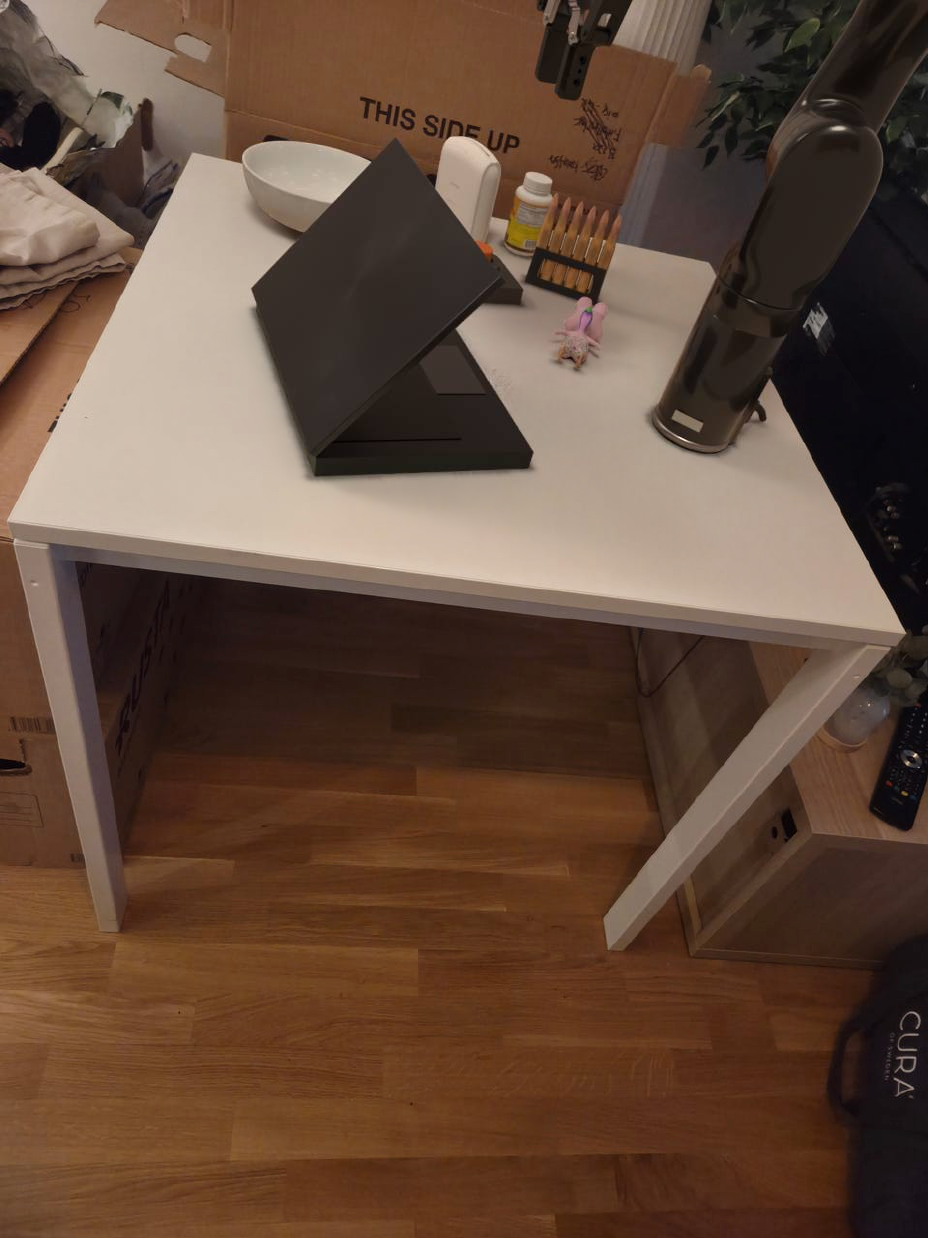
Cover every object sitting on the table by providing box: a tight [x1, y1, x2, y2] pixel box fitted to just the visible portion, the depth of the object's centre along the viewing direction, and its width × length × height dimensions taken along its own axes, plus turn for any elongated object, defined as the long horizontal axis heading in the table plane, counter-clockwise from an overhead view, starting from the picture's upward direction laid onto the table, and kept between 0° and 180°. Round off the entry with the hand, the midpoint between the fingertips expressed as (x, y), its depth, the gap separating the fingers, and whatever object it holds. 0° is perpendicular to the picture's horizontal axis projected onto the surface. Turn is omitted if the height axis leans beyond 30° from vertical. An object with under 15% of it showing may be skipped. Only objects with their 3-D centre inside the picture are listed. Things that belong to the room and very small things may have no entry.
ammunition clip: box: [524, 192, 623, 307], centre depth 107 cm, size 11×2×12 cm, turn 76°
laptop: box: [255, 303, 535, 477], centre depth 84 cm, size 22×30×2 cm
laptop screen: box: [250, 136, 506, 457], centre depth 75 cm, size 22×30×1 cm
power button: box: [475, 241, 494, 262], centre depth 103 cm, size 4×4×2 cm
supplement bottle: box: [503, 171, 554, 257], centre depth 115 cm, size 6×6×10 cm
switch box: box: [483, 253, 524, 306], centre depth 104 cm, size 11×9×4 cm
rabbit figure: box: [554, 297, 608, 371], centre depth 99 cm, size 6×6×15 cm
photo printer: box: [434, 135, 502, 243], centre depth 113 cm, size 10×4×12 cm, turn 39°
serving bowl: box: [241, 140, 372, 233], centre depth 106 cm, size 21×21×7 cm
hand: (555, 88), depth 68 cm, fingers open, 3 cm apart
